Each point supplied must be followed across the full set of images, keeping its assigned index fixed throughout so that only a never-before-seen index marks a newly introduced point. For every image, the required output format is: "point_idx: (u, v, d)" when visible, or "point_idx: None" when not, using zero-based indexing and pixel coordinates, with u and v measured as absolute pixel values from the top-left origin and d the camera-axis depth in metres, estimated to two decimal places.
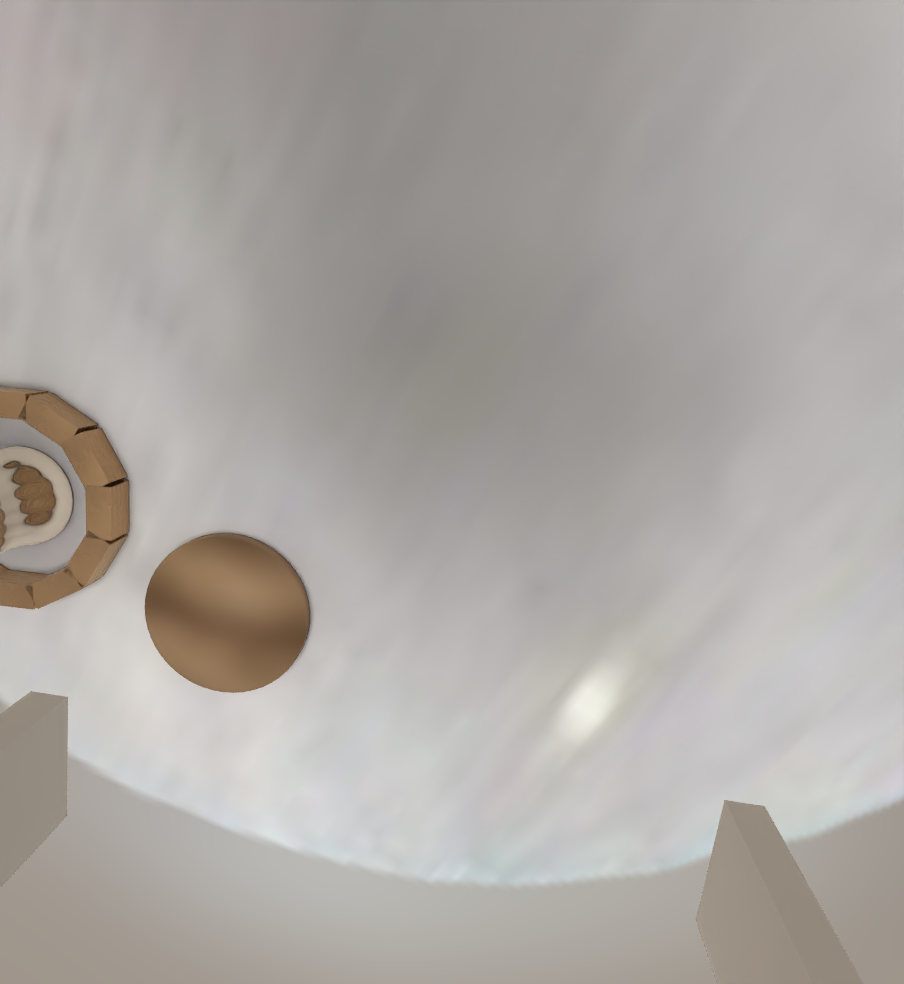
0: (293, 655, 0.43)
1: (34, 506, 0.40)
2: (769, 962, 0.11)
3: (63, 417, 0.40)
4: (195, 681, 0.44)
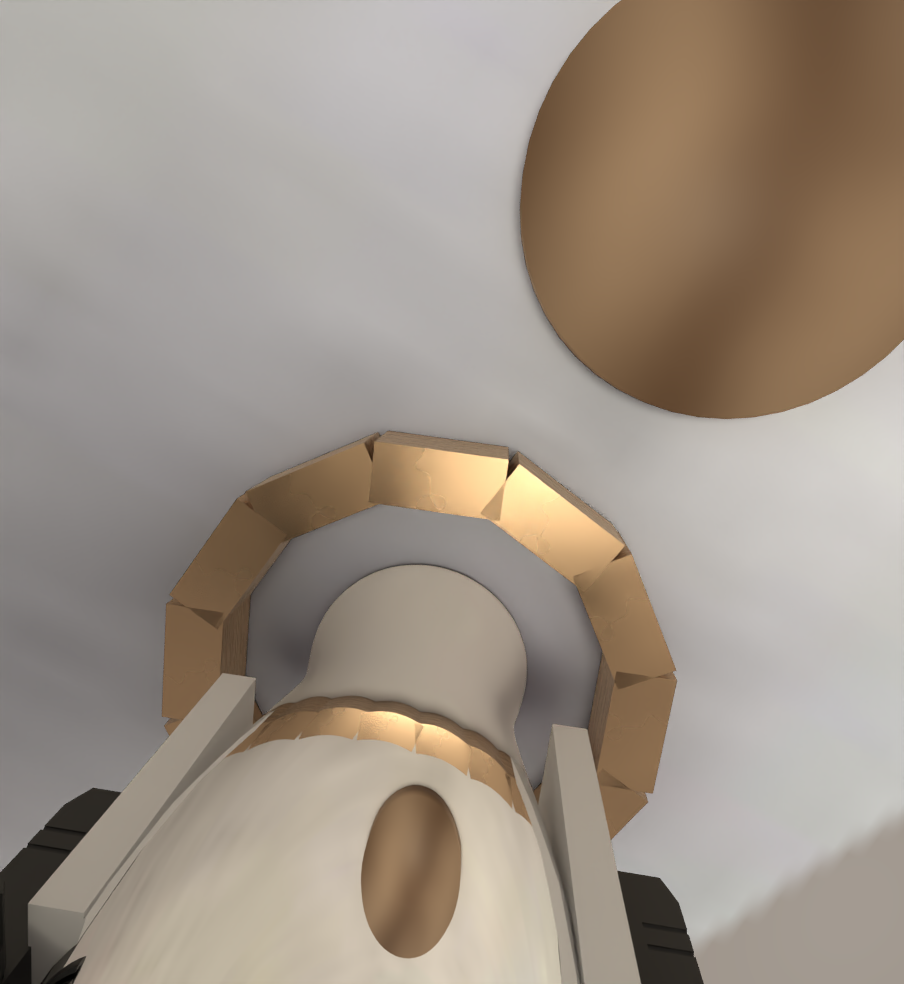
0: None
1: (404, 618, 0.16)
2: (555, 846, 0.13)
3: (215, 529, 0.17)
4: None
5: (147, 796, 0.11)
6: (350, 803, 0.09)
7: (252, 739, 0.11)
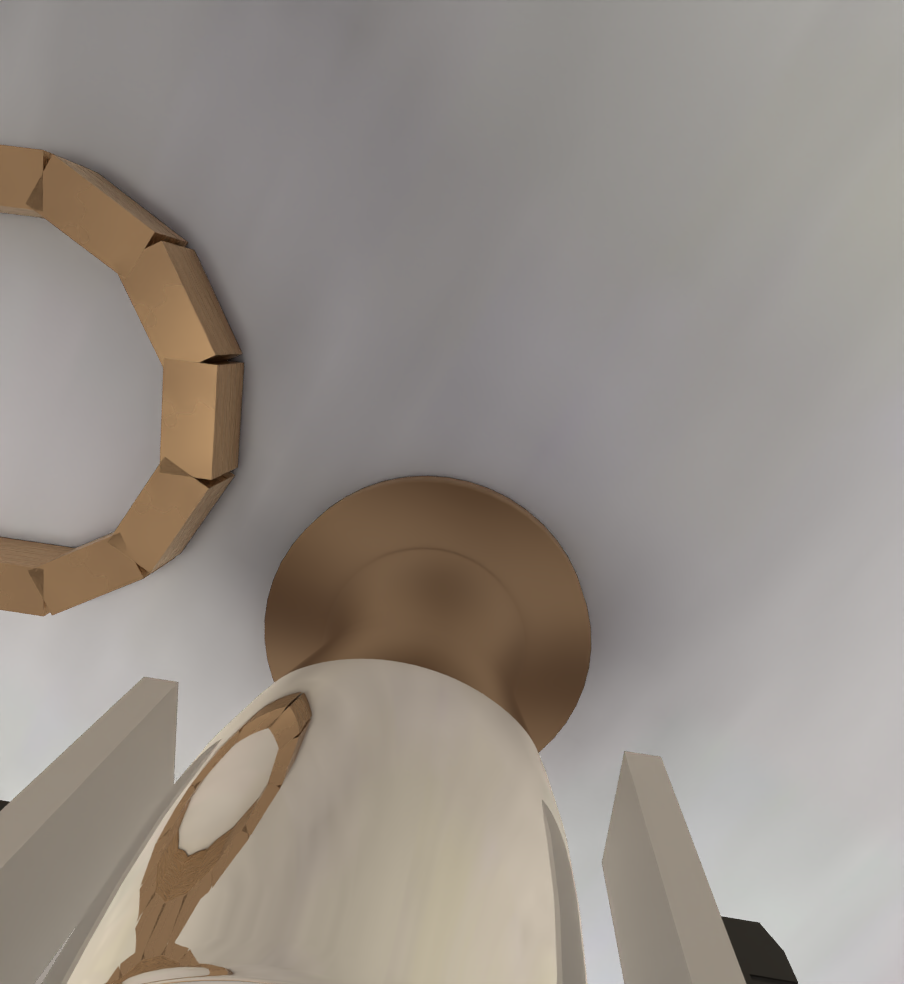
0: (556, 722, 0.22)
1: (412, 594, 0.18)
2: (643, 887, 0.12)
3: (123, 207, 0.18)
4: None
5: (35, 808, 0.11)
6: (375, 722, 0.10)
7: (283, 683, 0.12)
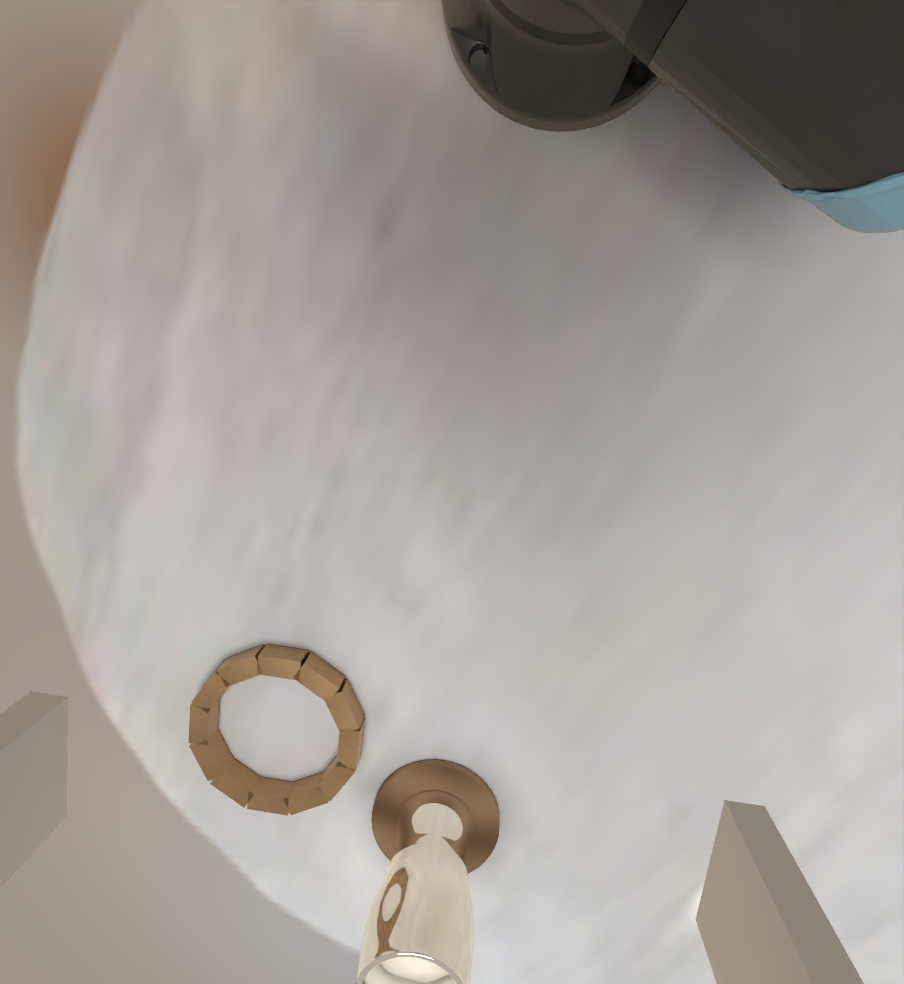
0: (486, 854, 0.55)
1: (431, 820, 0.51)
2: (768, 962, 0.11)
3: (328, 680, 0.52)
4: None
5: None
6: (425, 893, 0.43)
7: (398, 874, 0.46)
